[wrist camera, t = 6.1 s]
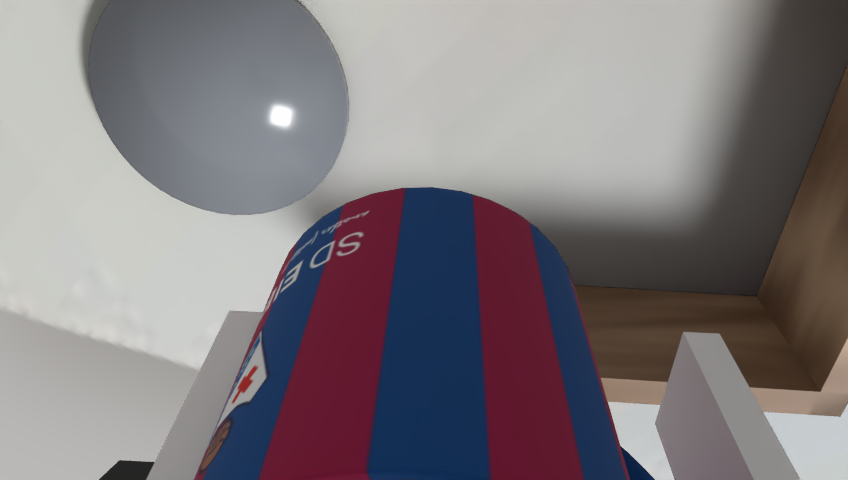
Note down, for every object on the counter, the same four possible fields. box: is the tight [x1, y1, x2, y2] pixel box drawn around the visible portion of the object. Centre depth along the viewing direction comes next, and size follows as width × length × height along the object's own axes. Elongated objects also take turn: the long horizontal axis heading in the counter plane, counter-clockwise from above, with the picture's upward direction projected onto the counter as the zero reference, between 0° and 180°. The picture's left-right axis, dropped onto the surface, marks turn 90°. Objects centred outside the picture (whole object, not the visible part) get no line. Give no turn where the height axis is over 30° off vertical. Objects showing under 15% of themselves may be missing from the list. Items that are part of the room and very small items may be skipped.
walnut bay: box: [574, 65, 848, 417], centre depth 23 cm, size 16×18×6 cm
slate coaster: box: [89, 0, 349, 215], centre depth 25 cm, size 10×10×1 cm
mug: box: [194, 187, 655, 480], centre depth 12 cm, size 7×10×7 cm
